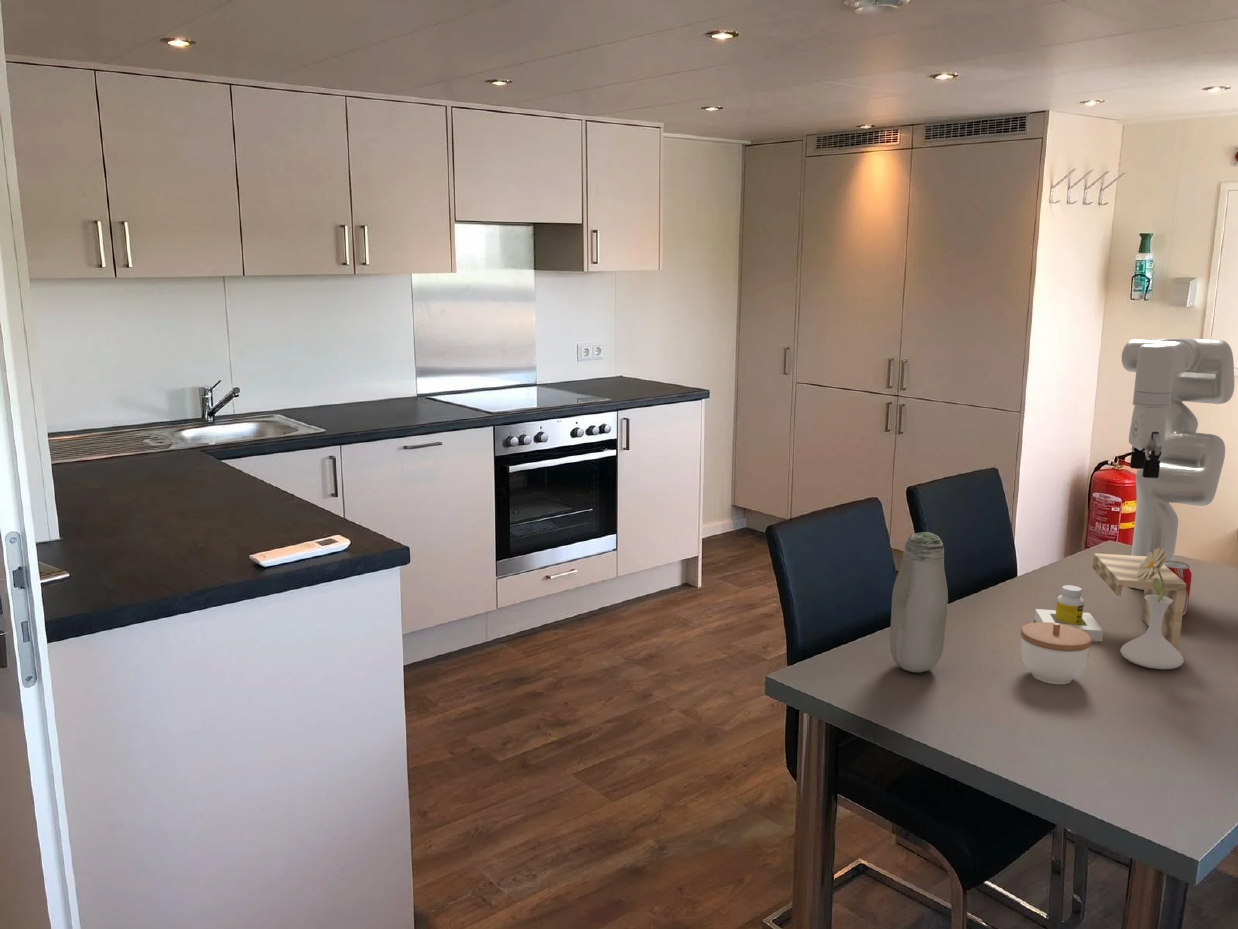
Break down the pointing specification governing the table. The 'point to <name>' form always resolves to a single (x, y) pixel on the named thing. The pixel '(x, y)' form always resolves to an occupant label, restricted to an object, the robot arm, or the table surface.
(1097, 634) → the socket block
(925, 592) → the grey bottle
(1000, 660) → the table surface
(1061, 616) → the supplement bottle
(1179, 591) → the small wooden stool
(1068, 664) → the lidded bowl
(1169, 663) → the flower in vase
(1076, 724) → the table surface
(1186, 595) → the soda can
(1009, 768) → the table surface
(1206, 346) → the robot arm
